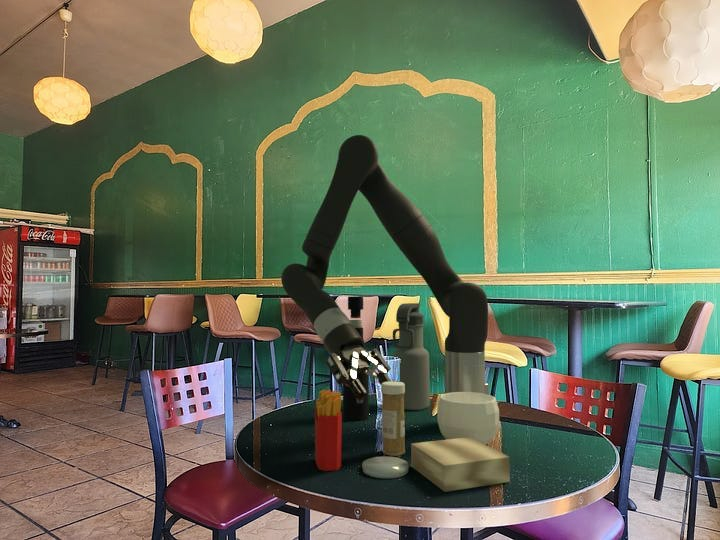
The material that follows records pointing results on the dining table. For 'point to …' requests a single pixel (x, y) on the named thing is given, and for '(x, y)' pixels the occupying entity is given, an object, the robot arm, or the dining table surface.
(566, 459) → the dining table surface
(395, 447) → the sprinkles bottle
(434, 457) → the birch block
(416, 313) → the water bottle
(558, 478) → the dining table surface
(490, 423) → the cup
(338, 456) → the french fries
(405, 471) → the pale grey dome
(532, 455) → the dining table surface
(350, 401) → the black bottle
